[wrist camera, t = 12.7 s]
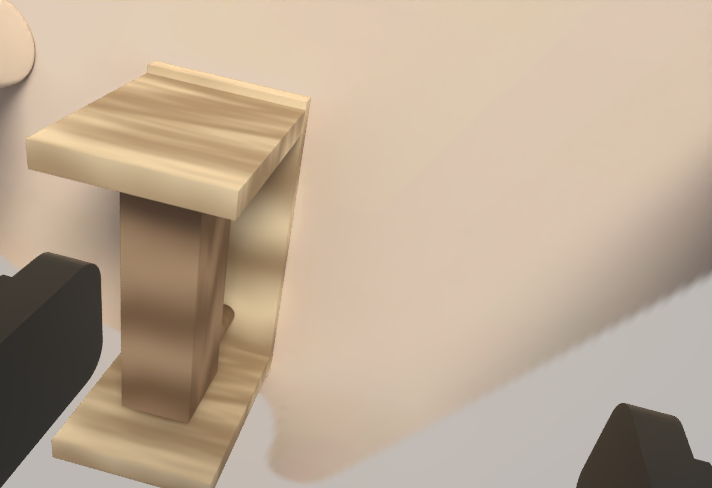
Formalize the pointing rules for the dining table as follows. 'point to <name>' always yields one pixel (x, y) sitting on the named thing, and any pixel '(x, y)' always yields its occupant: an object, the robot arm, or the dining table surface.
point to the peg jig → (203, 194)
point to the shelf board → (170, 304)
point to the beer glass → (14, 46)
